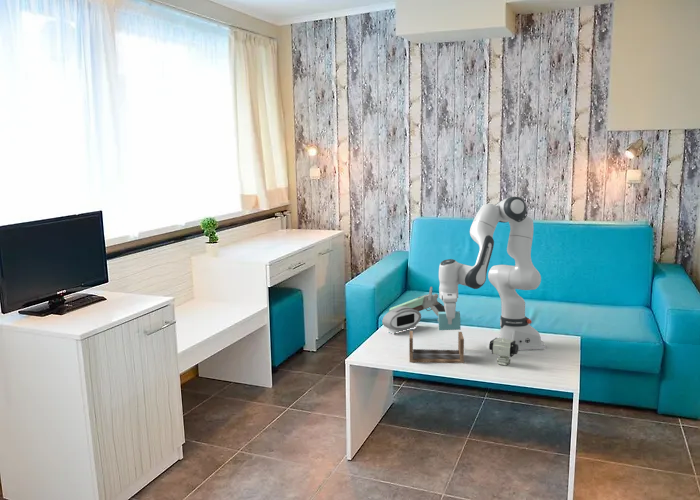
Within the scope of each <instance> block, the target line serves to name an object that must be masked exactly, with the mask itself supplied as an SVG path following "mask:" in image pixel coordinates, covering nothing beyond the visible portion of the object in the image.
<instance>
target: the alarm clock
mask: <svg viewBox="0 0 700 500" xmlns="http://www.w3.org/2000/svg"><path fill="white" fill-rule="evenodd" d="M421 320H422V314H421V311H417V310H414V309H412V308H410V307H398V308H395V309H393V310H391V311H390V312H389V311H388V312H387V313H385V314H384V316H383V317H382V320H381V321H382V325H383V326H384V327H385V328H386V329H387V332H388V331H389V332H392V333H396V332H399V331H403V330H407V329H410V328H414V327H416V328H417V325H418V324H419V322H421Z"/></svg>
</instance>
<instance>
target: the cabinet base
mask: <svg viewBox="0 0 700 500" xmlns="http://www.w3.org/2000/svg"><path fill="white" fill-rule="evenodd" d="M413 333H414V331H413V330H409V338H408V339H409V341H408V343H409V344H408V346H409V363H435V364H437V363H438V364H439V363H443V364H464V363H465V353H464V350H465V338H464V335H463V332H462V331H457V333H458V339H457V341H458V342H457V343H458V344H457V345H458V347H457V348H458V349H430V348H429V349H427V348H425V349H423V348H422V349H421V348H420V349H418V348H416V349H415V348H414V343H413V342H414V337H413V336H414V334H413Z"/></svg>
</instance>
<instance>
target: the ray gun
mask: <svg viewBox="0 0 700 500" xmlns="http://www.w3.org/2000/svg"><path fill="white" fill-rule="evenodd" d="M438 299H439V294H437V293H433V286H430V287H429V292H428V294H425V295H422V296H421V295H420V296H417V297H416V298H414V299H409V300H408V301H406V302H405V301H404V302H402V303H399V304H398V305H395V306H392V307H390V308H389V309H388V312H390V311H391V310H393V309H395V308H398V307H410V308H412V309H414V310H417V311H419V312H421V311H424V310H426V312H430V311H433V313H434V314H435V315H436V316H437V317H438V312H445V309H444V304H443V303H441V302H440V301H439V300H438ZM437 323H439V321H438V318H437Z"/></svg>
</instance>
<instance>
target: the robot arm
mask: <svg viewBox="0 0 700 500" xmlns="http://www.w3.org/2000/svg"><path fill="white" fill-rule="evenodd" d="M498 223H503V224H505V223H508V224H509V228H510V231H509V236H508V241H507V247H506V252H507V254H508V255H509V257H511V258H512V259H514V262H515V263H514V264H515V265H510V264H509V265H508V264H497V265H493V266H491V268H490V269H489V271H488V268H489V265H490V260H491V258H492V255H493V254H492V253H493V250H494V245H495V241H494V240H495V239H494V233H495V231H496V228H497V226H498ZM469 235H470V237H471V239H472V240H473V241H474V242H475V243H476V244H477V245H478V247H479V249H478V251H479V252H478V254H477V258H476V261H475V264H474V265H467V264H464V263H460V262H458V261H456V259H452V258H450V259H444V260H442V261H441V262H440V263H439V266H438V281H439V287H438V292H439V294H438V299H440V300H441V302H443V306H444V309H445V312H446V316H447V318H448V324H452V319H453V318H455V311H457V310H456V309H457V302H458V298H459V285H461V286H465V287H468V288H471V289H474V290H478V289H480V288H482V287H483V286H484V285H485V284H486V281H487V277H488V281H489V282H490V284H491V285H492V286H493V287H494V288H495V289H496V291H497V293H498V295H499V297H500V303H501V314H500V318H499V322H500V323H499V326H500V330H499V337H498V338H501V339H503V338H505V339H508V340H514V341H515V343H516V344H518V351H525V350H526V351H527V350H528V351H529V349H533V350H544V348H545V347H547V346H546V343H545V342H544V340H542V338H541V335H540V332H539V331H538V330H537V329H536V328H534V327H533V326H531V324H532V320H531V318H529V317H527V316H526V302H525V299H524V298H523V297H522V296H520V295H519V294H518V293H517V291H516V290H522V291H532V290H536V289H538V288H539V286H540V285H541V282H542V276H541V274H540V273H541V272H539V271H538V269H537V268H536V267H535V266H534V263H533V262H532V261H533V260H532V257H531V253H532V246H533V239H534V220H533V219H532V217H530V216H528V210H527V205H526V201H525V200H524V199H523V198H522V197H519V196H510V197H506V198H504V199H501V201H499V202H497V203H495V204H493V203H484V204H482V206H481V207H480V208H479V210H478V211H477V213H476V215H475V216H474V218H473V220H472V223H471V225H470V229H469ZM487 273H488V274H487ZM545 349H546V348H545Z"/></svg>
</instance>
